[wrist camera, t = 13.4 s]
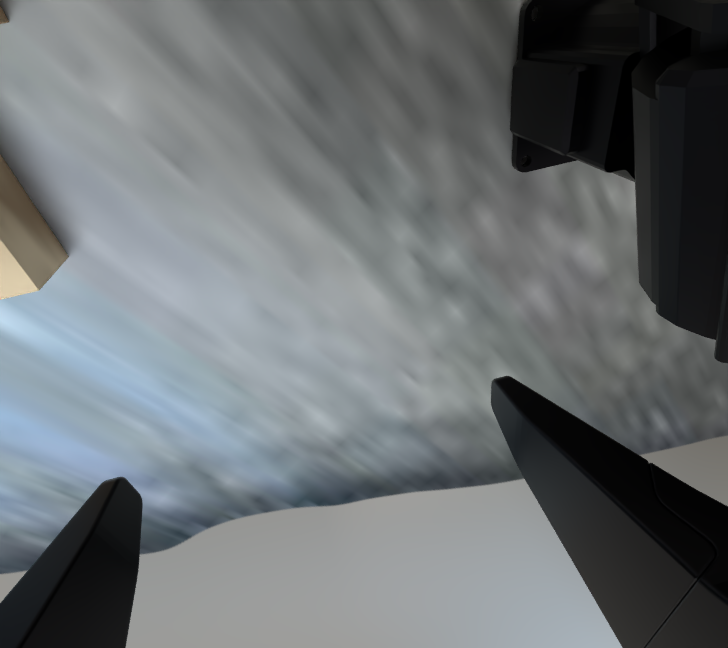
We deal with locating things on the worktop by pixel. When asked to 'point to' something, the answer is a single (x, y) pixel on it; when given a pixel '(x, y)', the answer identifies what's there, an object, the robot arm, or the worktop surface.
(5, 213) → the wooden pusher
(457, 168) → the worktop surface
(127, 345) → the worktop surface
